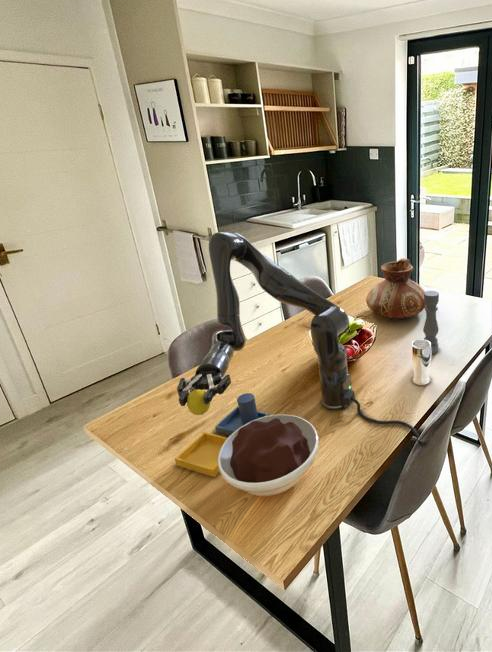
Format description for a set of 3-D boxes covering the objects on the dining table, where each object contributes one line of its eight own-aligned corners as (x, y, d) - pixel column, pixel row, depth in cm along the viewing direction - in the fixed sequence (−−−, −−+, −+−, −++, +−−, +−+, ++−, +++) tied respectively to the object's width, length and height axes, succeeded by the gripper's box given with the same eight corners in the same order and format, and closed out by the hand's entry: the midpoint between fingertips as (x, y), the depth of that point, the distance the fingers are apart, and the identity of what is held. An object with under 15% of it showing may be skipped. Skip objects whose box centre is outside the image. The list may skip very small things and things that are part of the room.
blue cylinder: (262, 418, 126) (257, 394, 122) (252, 428, 121) (247, 404, 118) (248, 415, 127) (244, 391, 124) (238, 425, 123) (233, 401, 119)
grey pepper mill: (421, 352, 161) (421, 295, 151) (425, 345, 166) (425, 289, 156) (435, 355, 158) (437, 297, 149) (439, 347, 164) (441, 291, 154)
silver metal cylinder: (433, 377, 144) (434, 340, 138) (427, 387, 138) (427, 350, 132) (415, 373, 147) (415, 337, 141) (408, 383, 141) (408, 346, 135)
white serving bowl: (278, 428, 121) (271, 387, 115) (341, 462, 108) (336, 417, 102) (204, 484, 103) (191, 438, 97) (268, 533, 89) (258, 484, 83)
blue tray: (270, 419, 125) (269, 413, 125) (249, 441, 117) (248, 435, 116) (238, 412, 129) (237, 406, 128) (216, 432, 121) (215, 426, 120)
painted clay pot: (429, 324, 184) (430, 273, 174) (365, 326, 184) (362, 275, 175) (424, 299, 211) (424, 254, 202) (368, 301, 212) (365, 256, 202)
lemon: (204, 422, 105) (198, 397, 102) (186, 420, 106) (179, 395, 103) (217, 409, 110) (210, 384, 107) (199, 406, 111) (192, 383, 108)
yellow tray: (242, 447, 114) (240, 441, 113) (214, 477, 105) (212, 470, 104) (206, 437, 119) (204, 431, 118) (176, 465, 109) (174, 458, 108)
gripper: (186, 357, 117) (161, 392, 101) (236, 354, 118) (219, 388, 102) (191, 379, 120) (168, 416, 104) (240, 375, 121) (224, 411, 105)
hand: (193, 402), depth 103 cm, fingers closed on lemon, 5 cm apart
